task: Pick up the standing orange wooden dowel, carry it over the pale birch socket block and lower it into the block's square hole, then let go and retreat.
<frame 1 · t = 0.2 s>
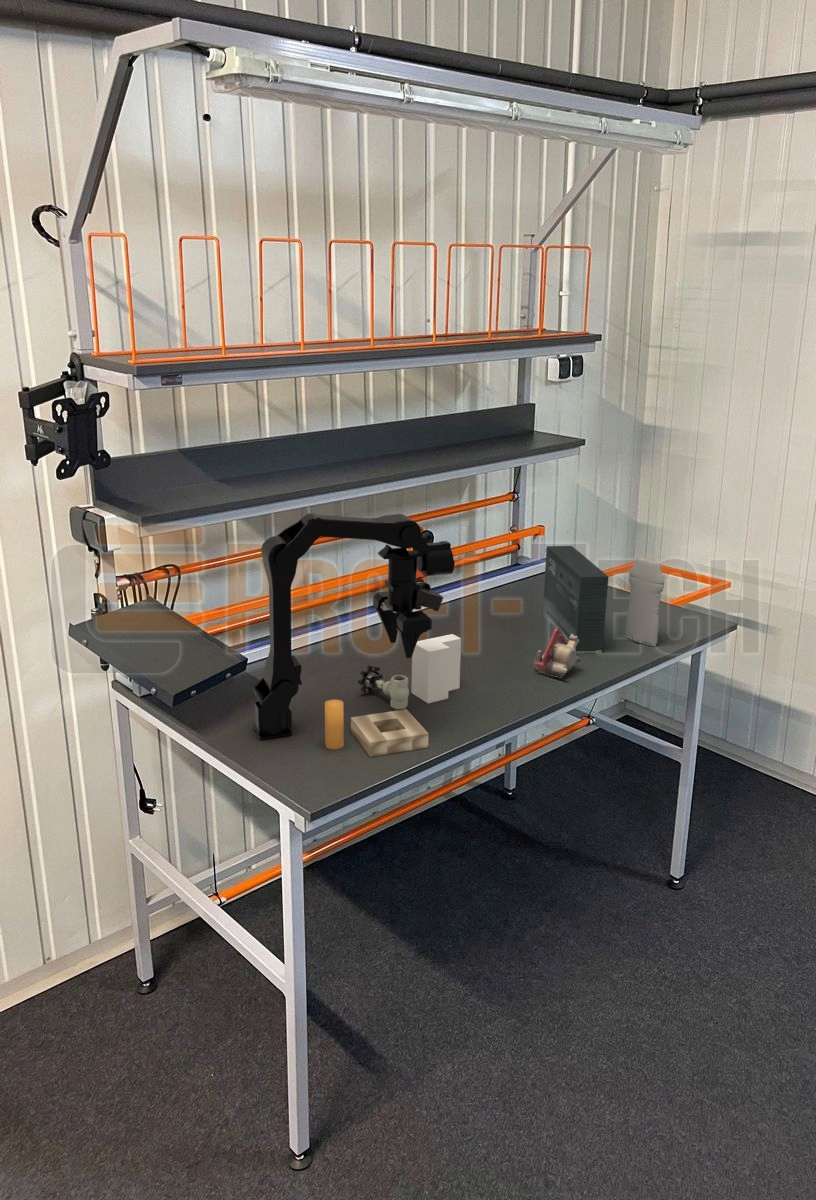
hand: (400, 650, 199), 14 cm above the table, tool pointing down, fingers open, 9 cm apart
corner bracket: (433, 690, 216), on the table
brake caliper: (555, 673, 226), on the table
socket block: (388, 738, 192), on the table
peg: (334, 745, 189), on the table
valve: (386, 701, 210), on the table
tall pale column: (640, 642, 247), on the table
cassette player: (570, 634, 252), on the table
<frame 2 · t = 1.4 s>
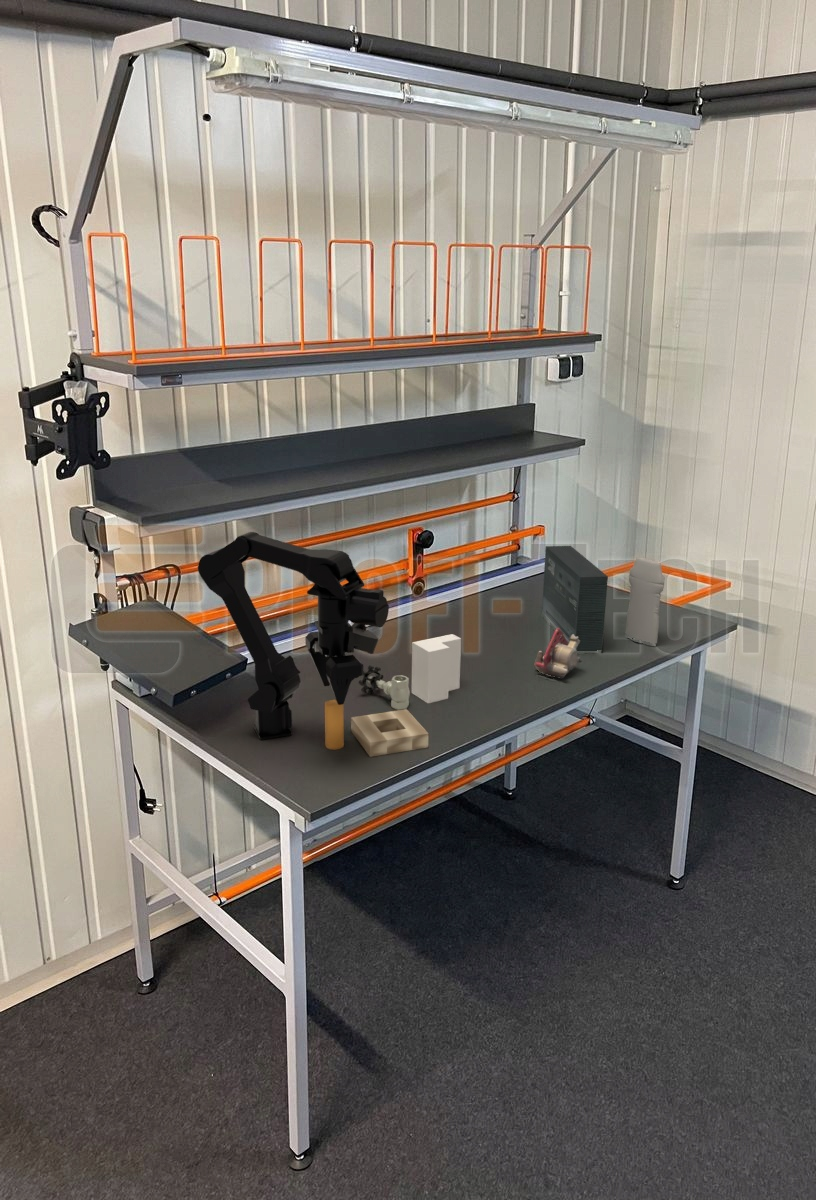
hand: (333, 694, 185), 11 cm above the table, tool pointing down, fingers open, 9 cm apart
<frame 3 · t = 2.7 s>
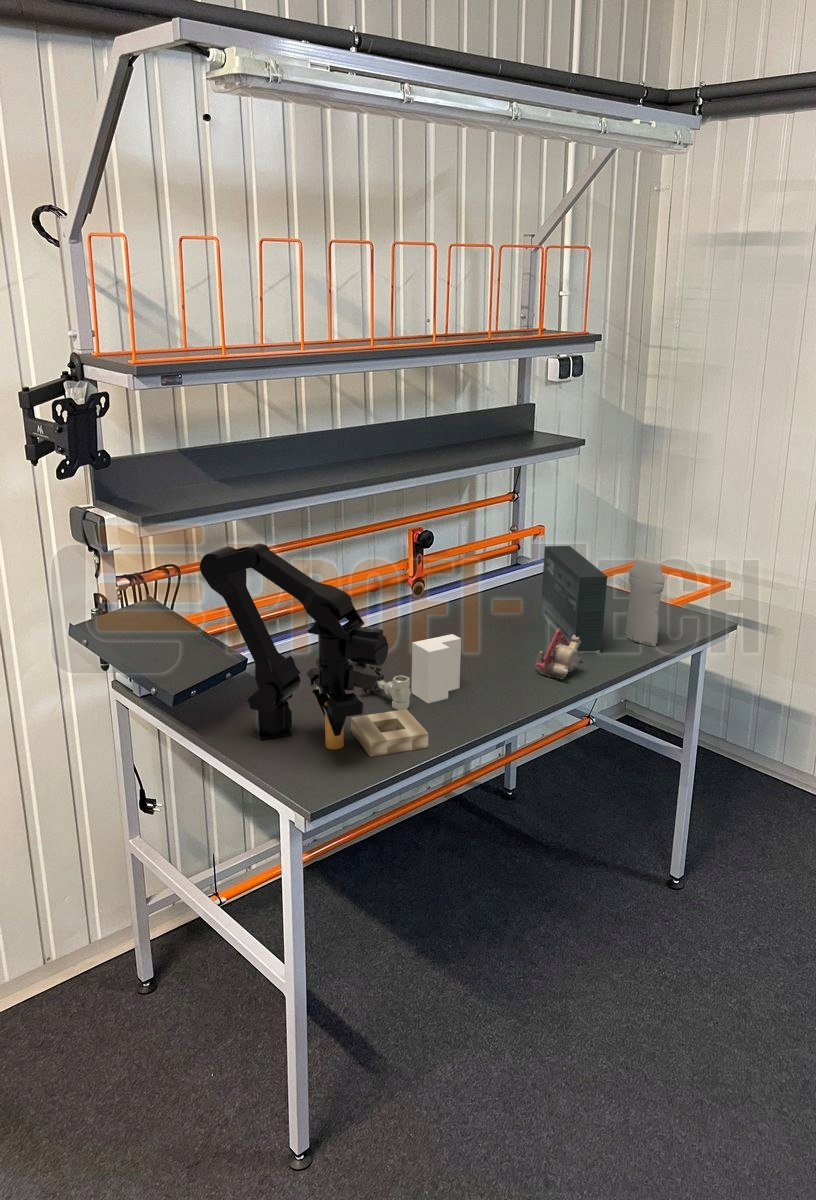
hand: (334, 731, 188), 3 cm above the table, tool pointing down, fingers closed on peg, 4 cm apart
peg: (334, 745, 189), on the table, touching gripper
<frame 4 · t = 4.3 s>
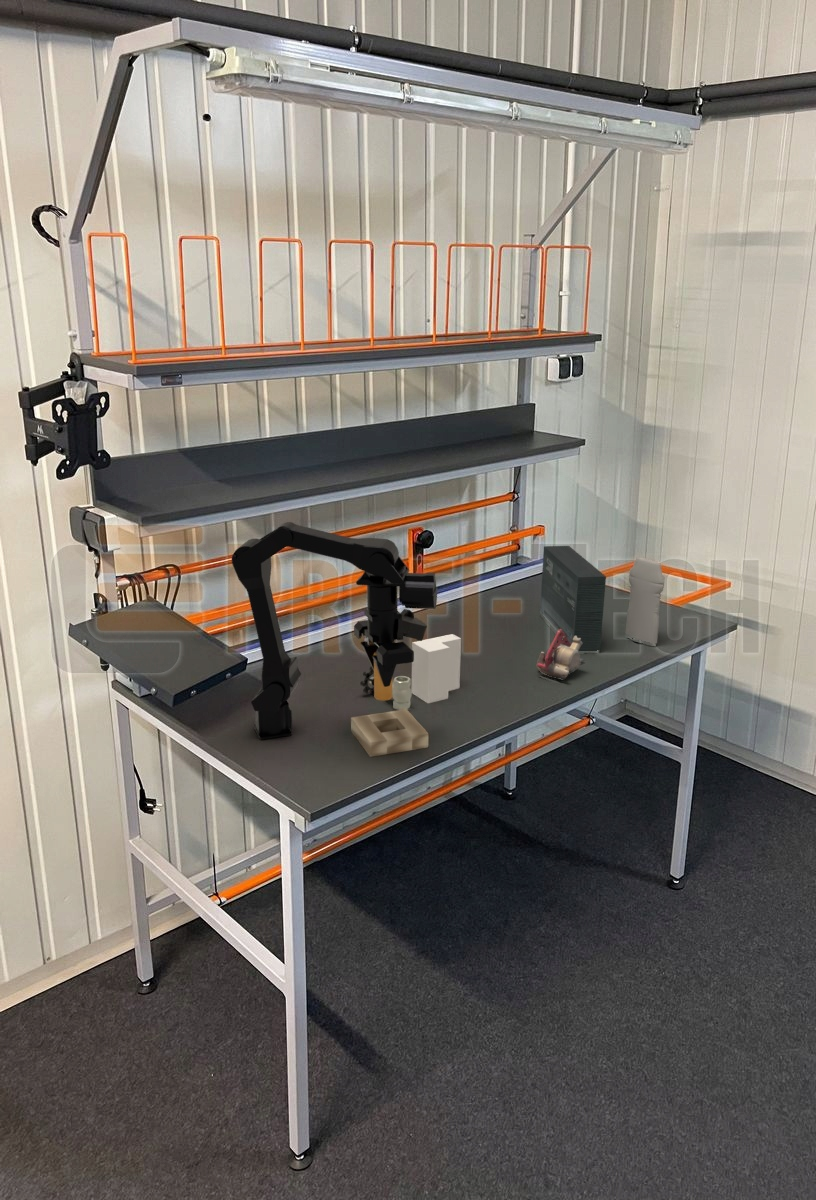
hand: (383, 682, 187), 12 cm above the table, tool pointing down, fingers closed on peg, 4 cm apart
peg: (383, 696, 188), point 9 cm above the table, touching gripper
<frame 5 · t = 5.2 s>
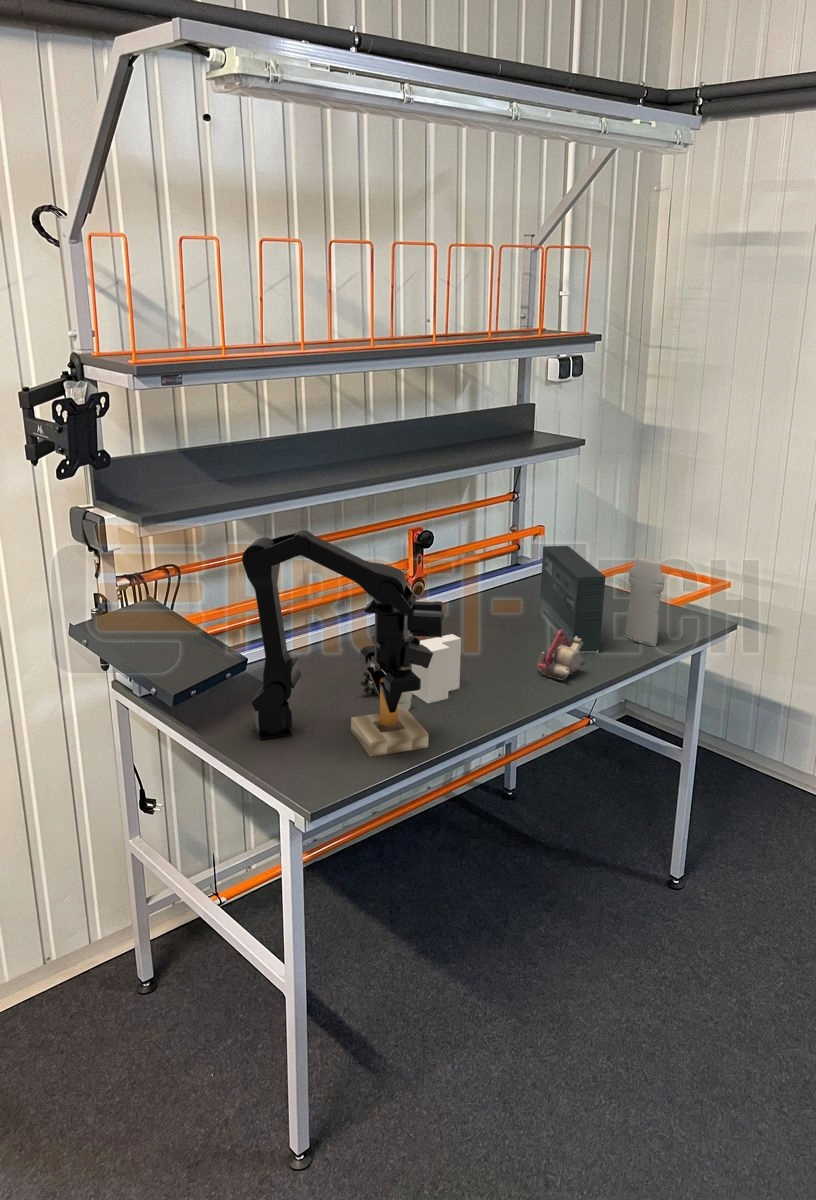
hand: (388, 708, 190), 7 cm above the table, tool pointing down, fingers closed on peg, 4 cm apart
peg: (388, 722, 190), point 4 cm above the table, touching gripper
when the fingers open (4 cm above the table, at t = 6.0 s): peg stays where it is, resting on socket block.
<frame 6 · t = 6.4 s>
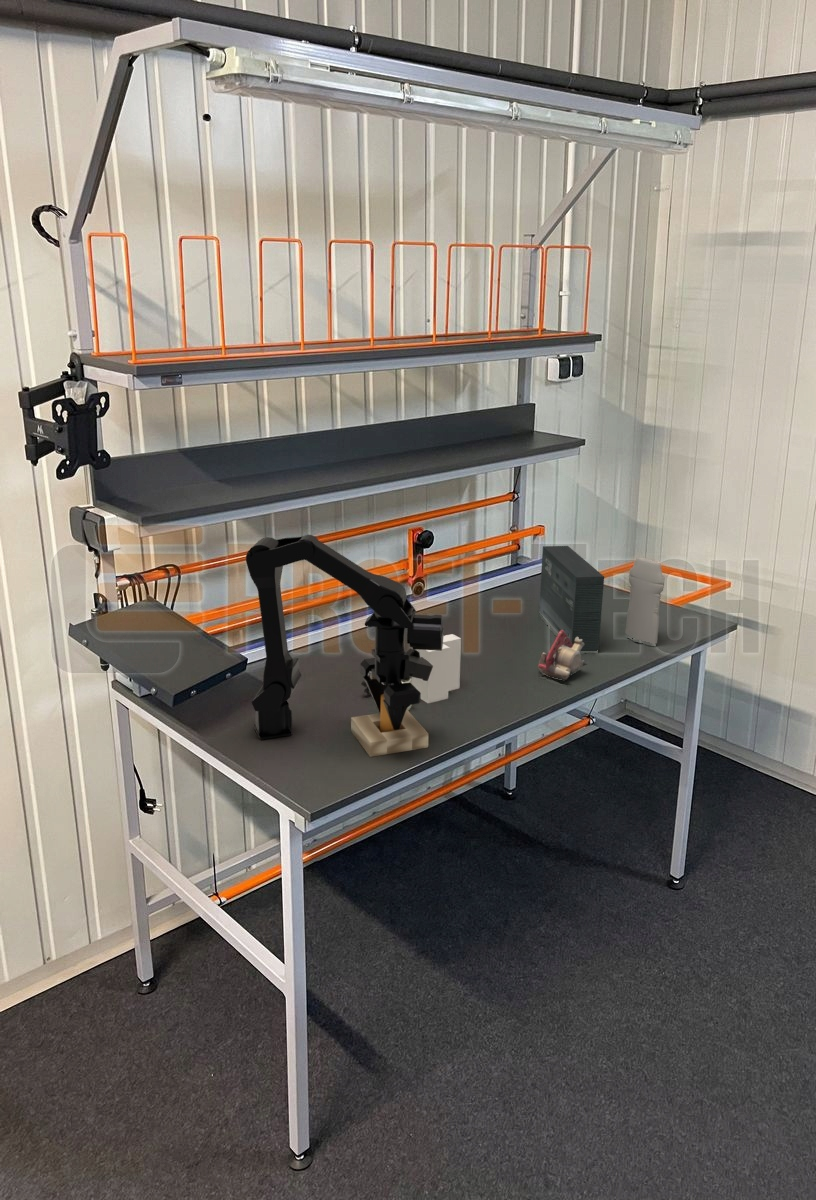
hand: (388, 720, 190), 4 cm above the table, tool pointing down, fingers open, 8 cm apart
peg: (388, 737, 192), resting on socket block
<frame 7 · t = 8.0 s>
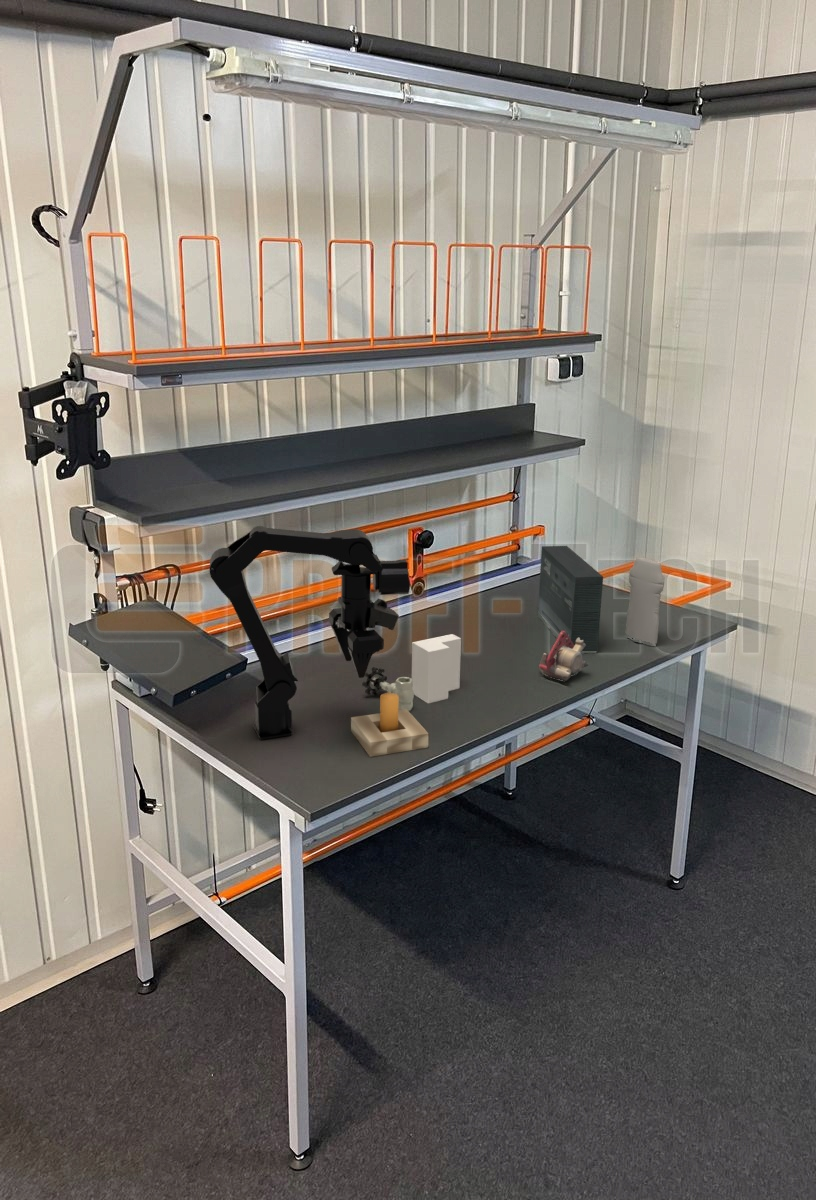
hand: (354, 668, 193), 13 cm above the table, tool pointing down, fingers open, 9 cm apart
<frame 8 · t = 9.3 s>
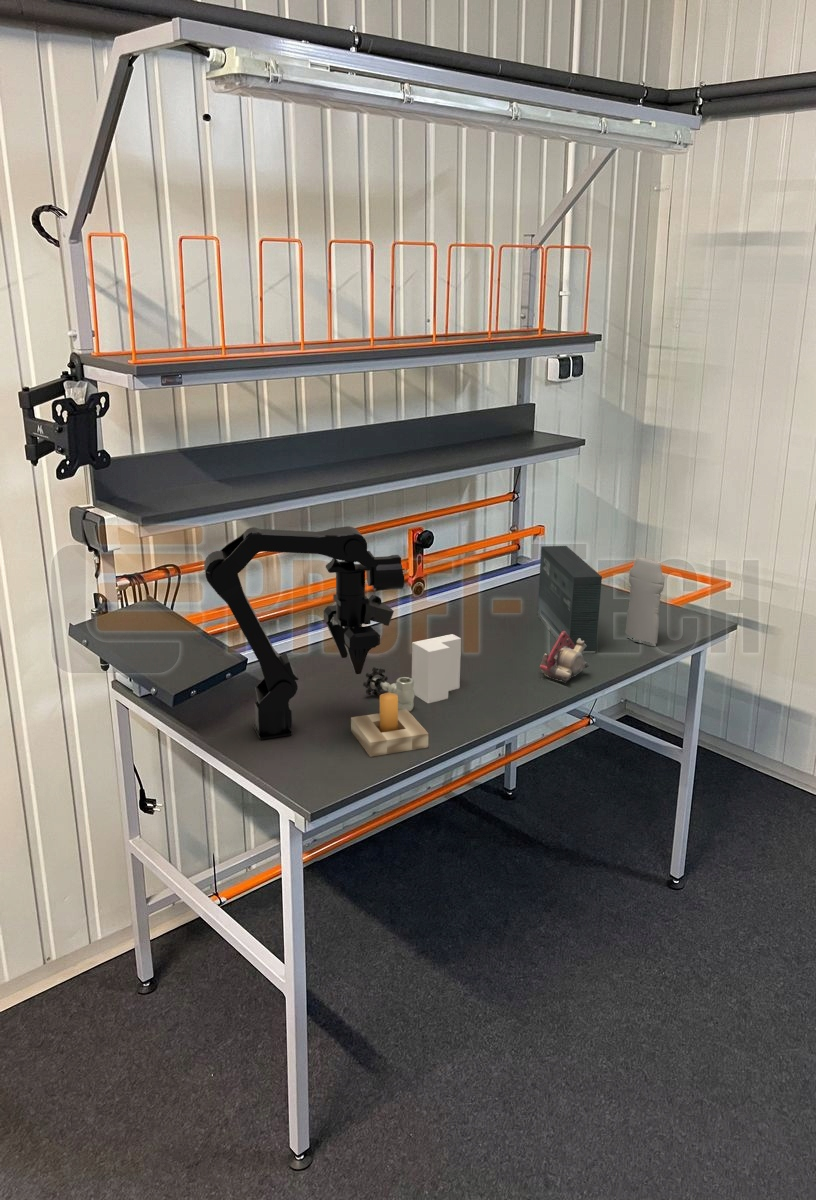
hand: (351, 665, 194), 13 cm above the table, tool pointing down, fingers open, 9 cm apart
at the end: peg 0.0 cm off-centre on the socket block, point 0.2 cm above the socket block's base; peg tilted 1°; the gripper is holding nothing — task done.
